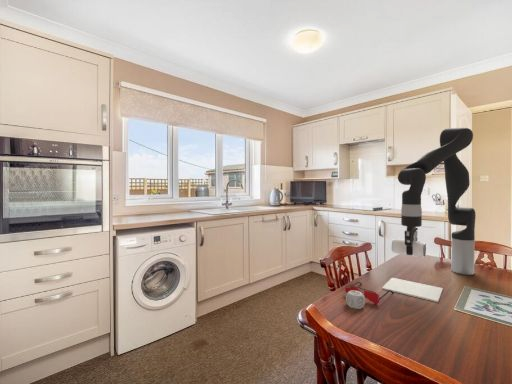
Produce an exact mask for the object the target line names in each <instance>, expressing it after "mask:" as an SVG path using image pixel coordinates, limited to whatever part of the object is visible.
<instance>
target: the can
mask: <svg viewBox="0 0 512 384" xmlns="http://www.w3.org/2000/svg"><path fill="white" fill-rule="evenodd" d="M408 242H409V243H410V241H408ZM426 251H427V244H426V243H425V242H422V241H418V240H417V241H414V242H413V254H412V255H409V256H412V257H417V258H420V257H424V258H425V257H426V253H427V252H426ZM391 252H392V253H393V254H397V255H398V254H399V255H405V256H408V255H407V254H406V245H405V239H404V238H403V239H402V238H393V239H392V241H391Z"/></svg>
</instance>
